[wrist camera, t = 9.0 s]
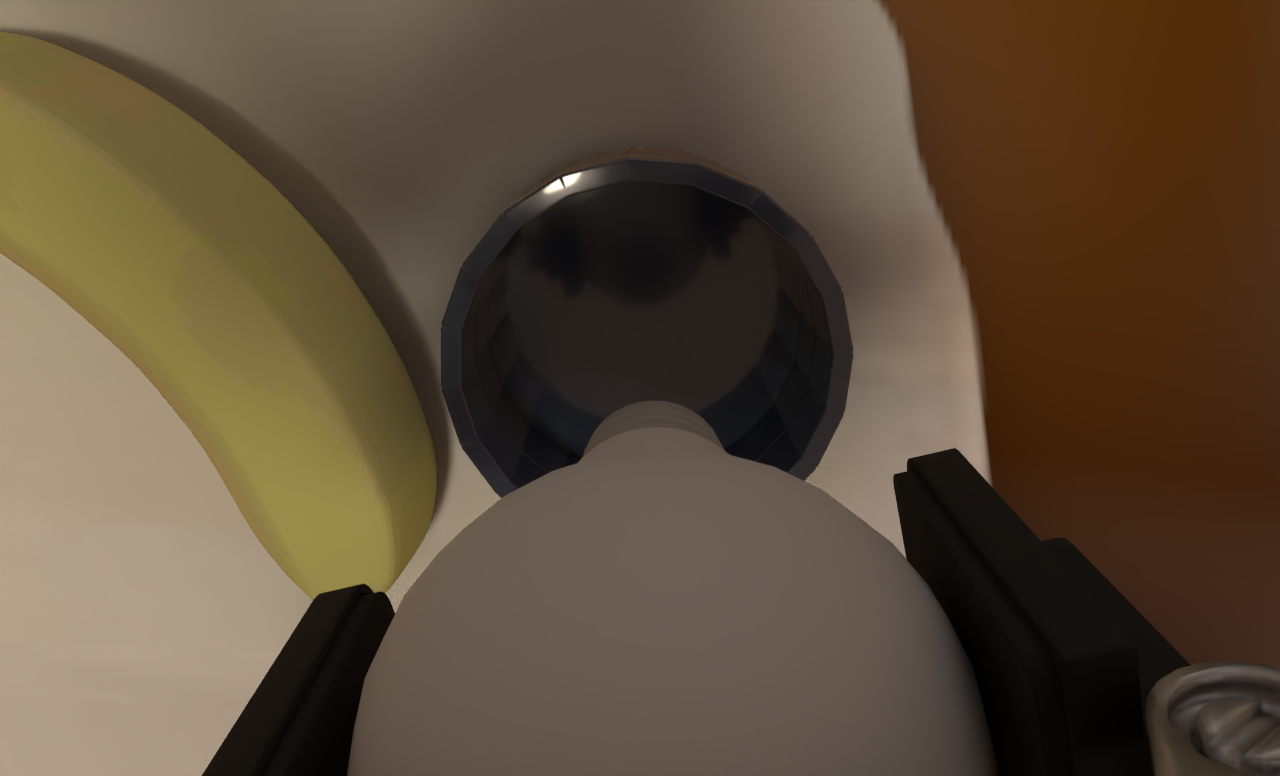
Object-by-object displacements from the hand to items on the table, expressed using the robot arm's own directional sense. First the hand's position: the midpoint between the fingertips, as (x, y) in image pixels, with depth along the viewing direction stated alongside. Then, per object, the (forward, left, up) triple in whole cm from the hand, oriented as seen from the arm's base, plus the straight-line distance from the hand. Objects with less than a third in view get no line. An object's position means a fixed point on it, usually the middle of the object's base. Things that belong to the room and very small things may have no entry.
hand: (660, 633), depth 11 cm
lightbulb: (0, 0, -6) cm, 6 cm away
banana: (-2, -13, -15) cm, 20 cm away
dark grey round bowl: (0, 0, -15) cm, 15 cm away
